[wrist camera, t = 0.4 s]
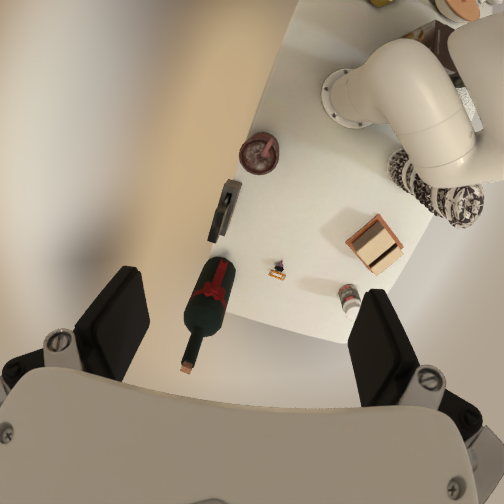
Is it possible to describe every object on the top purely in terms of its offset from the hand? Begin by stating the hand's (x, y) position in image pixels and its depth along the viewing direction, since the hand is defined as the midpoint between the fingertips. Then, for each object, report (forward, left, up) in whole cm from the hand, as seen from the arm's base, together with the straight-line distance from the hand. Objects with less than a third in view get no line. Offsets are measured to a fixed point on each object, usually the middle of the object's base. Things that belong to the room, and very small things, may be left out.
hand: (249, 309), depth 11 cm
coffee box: (-37, +5, -47) cm, 60 cm away
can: (0, -2, -47) cm, 47 cm away
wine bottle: (+28, +10, -47) cm, 56 cm away
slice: (-3, +33, -46) cm, 57 cm away
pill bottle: (+10, +37, -47) cm, 61 cm away
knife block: (+14, +1, -47) cm, 49 cm away
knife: (+14, +1, -47) cm, 49 cm away
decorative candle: (-19, +21, -47) cm, 55 cm away
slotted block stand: (-3, +31, -47) cm, 56 cm away
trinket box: (-59, +1, -47) cm, 76 cm away
